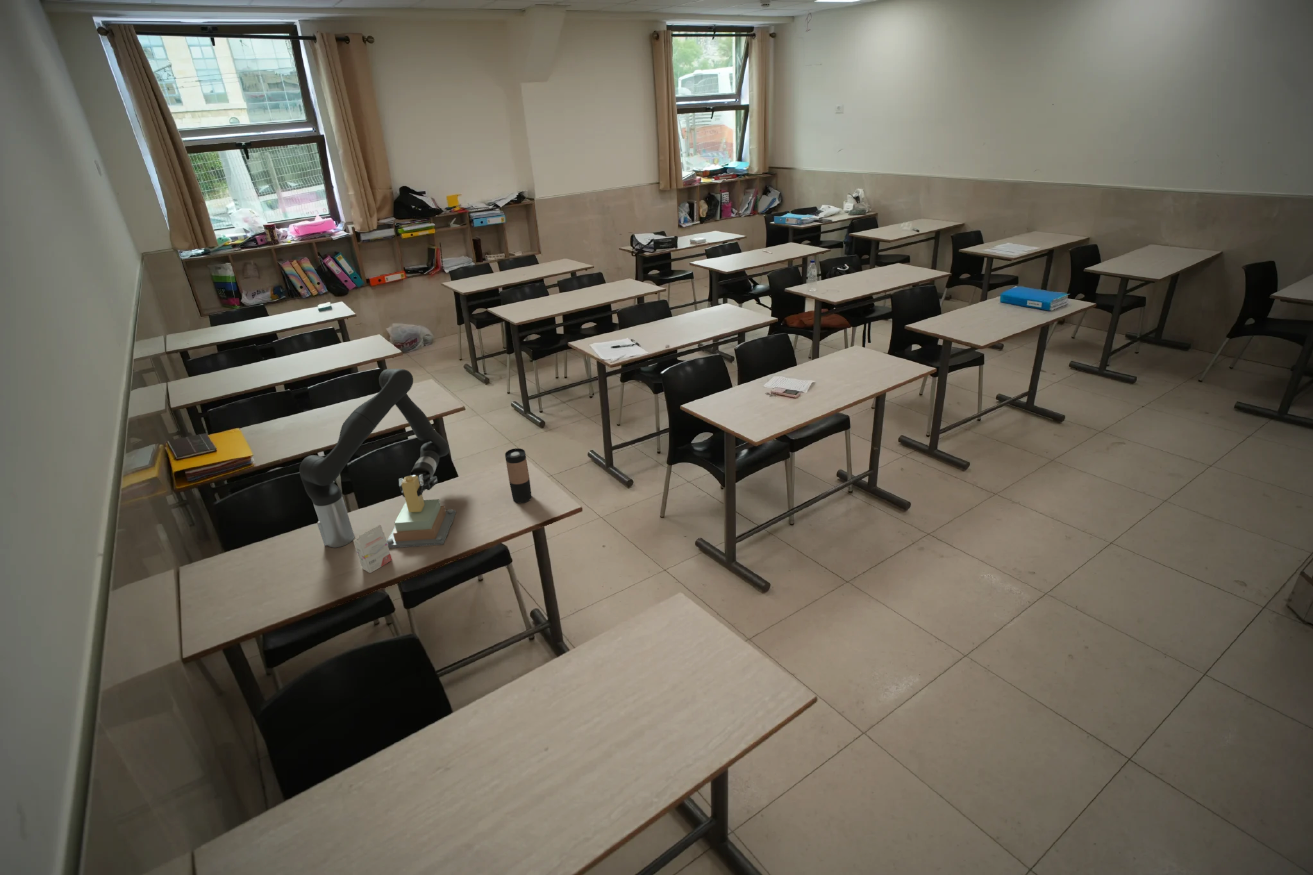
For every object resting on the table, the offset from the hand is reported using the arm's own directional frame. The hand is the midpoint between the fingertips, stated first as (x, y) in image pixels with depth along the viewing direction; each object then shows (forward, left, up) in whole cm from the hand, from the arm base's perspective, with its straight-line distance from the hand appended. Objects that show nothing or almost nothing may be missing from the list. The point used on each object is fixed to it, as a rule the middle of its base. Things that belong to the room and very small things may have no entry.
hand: (411, 494), depth 228 cm
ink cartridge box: (-10, -17, -16) cm, 26 cm away
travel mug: (+34, +19, -16) cm, 42 cm away
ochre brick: (0, +2, -7) cm, 7 cm away
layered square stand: (0, +2, -16) cm, 16 cm away
